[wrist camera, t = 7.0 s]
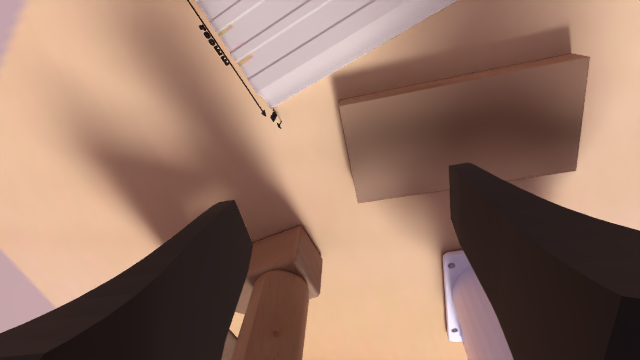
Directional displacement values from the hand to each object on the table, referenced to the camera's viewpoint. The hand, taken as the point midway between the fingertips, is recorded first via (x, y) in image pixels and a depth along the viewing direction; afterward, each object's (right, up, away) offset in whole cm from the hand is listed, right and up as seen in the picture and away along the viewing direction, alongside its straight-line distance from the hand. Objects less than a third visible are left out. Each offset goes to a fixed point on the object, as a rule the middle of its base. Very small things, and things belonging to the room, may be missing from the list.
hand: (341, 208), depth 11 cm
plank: (+7, +4, +8) cm, 11 cm away
